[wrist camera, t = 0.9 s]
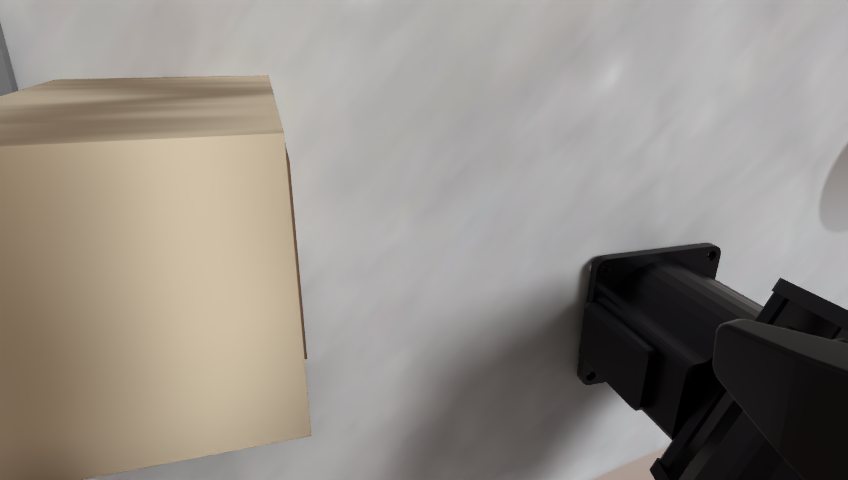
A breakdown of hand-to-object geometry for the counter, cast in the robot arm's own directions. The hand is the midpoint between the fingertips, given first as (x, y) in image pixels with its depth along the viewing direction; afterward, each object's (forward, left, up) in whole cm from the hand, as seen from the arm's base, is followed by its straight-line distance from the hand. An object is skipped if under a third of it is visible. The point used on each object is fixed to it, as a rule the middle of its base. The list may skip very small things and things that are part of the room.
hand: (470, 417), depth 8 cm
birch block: (+5, -1, -13) cm, 14 cm away
